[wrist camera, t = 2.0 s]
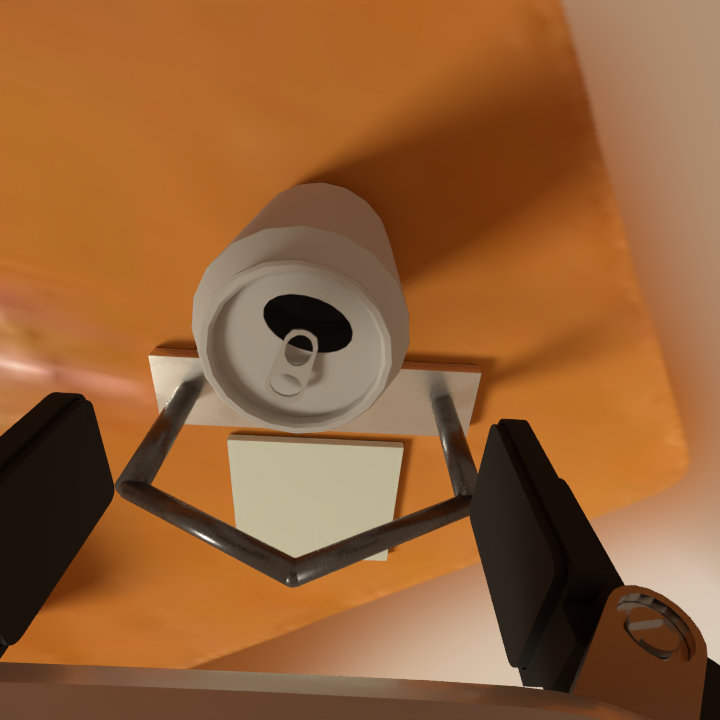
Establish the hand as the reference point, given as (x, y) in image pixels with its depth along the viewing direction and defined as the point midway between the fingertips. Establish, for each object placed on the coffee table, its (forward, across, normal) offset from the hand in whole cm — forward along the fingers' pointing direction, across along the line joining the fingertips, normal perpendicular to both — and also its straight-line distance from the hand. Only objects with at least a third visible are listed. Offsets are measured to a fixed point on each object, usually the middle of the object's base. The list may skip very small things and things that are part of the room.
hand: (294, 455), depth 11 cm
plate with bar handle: (+16, +1, +8) cm, 18 cm away
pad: (+16, +1, +18) cm, 24 cm away
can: (+16, +1, -1) cm, 16 cm away
